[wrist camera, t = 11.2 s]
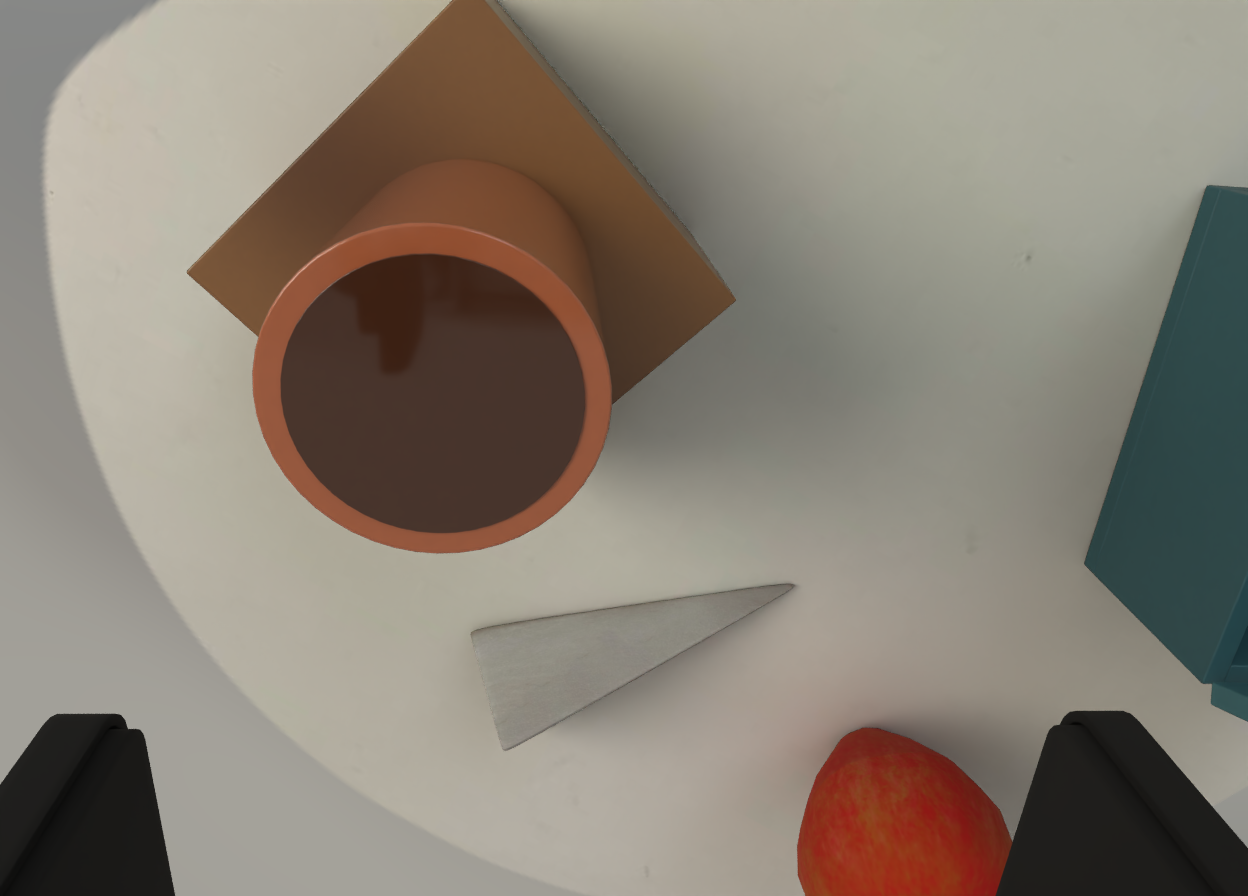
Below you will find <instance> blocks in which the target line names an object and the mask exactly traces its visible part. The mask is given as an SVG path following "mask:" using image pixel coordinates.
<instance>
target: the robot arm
mask: <svg viewBox="0 0 1248 896" xmlns="http://www.w3.org/2000/svg"><path fill="white" fill-rule="evenodd" d="M0 896H175V893H174V887H173V882H172V877H171V872H170V867H169V861H168V856H167V851H166V846H165V840H164V835H163V830H162V825H161V820H160V814H159V809H158V804H157V799H156V793H155V788H154V784H153V778H152V773H151V767H150V762H149V757H148V752H147V746H146V741H145V738H144V735H143V733H142V732H141V730H139V729H128V728H127V725H126V722H125V719H124V718H123V717H122V716H121V715H119V714H56V715H54V716H52V717H50V718H49V719H48V720H47V721H46V722H45V724H44V725H43V726H42V727H41V729H40V730H39V731H38V733H37V734H36V736H35V737H34V738H33V740H32V741H31V743H30V744H29V745H28V747H27V748H26V750H25V751H24V752H23V754H22V755H21V756H20V758H19V759H18V761H17V762H16V764H15V765H14V766H13V768H12V769H11V770H10V772H9V773H8V775H7V776H6V777H5V779H4V780H3V782H2V783H1V784H0ZM995 896H1248V848H1247V847H1246V846H1245V844H1244V843H1243V842H1242V841H1241V840H1240V839H1239V837H1238V836H1237V835H1236V834H1235V833H1234V832H1233V830H1232V829H1231V828H1230V827H1229V826H1228V825H1227V823H1226V822H1225V821H1224V820H1223V819H1222V818H1221V816H1220V815H1219V814H1218V813H1217V812H1216V811H1215V809H1214V808H1213V807H1212V806H1211V805H1210V804H1209V802H1208V801H1207V800H1206V799H1205V798H1204V797H1203V795H1202V794H1201V793H1200V792H1199V791H1198V790H1197V788H1196V787H1195V786H1194V785H1193V784H1192V783H1191V781H1190V780H1189V779H1188V778H1187V777H1186V776H1185V774H1184V773H1183V772H1182V771H1181V770H1180V769H1179V767H1178V766H1177V765H1176V764H1175V763H1174V762H1173V760H1172V759H1171V758H1170V757H1169V756H1168V755H1167V753H1166V752H1165V751H1164V750H1163V749H1162V748H1161V746H1160V745H1159V744H1158V743H1157V742H1156V741H1155V739H1154V738H1153V737H1152V736H1151V735H1150V734H1149V732H1148V731H1147V730H1146V729H1145V728H1144V727H1143V725H1142V724H1141V723H1140V722H1139V721H1138V720H1137V719H1136V718H1135V717H1134V716H1133V715H1131V714H1130V713H1127V712H1124V711H1073V712H1069V713H1068V714H1067V715H1066V716H1064V718H1063V720H1062V722H1061V724H1060V725H1055V726H1053V727H1052V728H1051V729H1050V730H1049V732H1048V734H1047V737H1046V740H1045V743H1044V746H1043V749H1042V752H1041V756H1040V759H1039V762H1038V765H1037V768H1036V771H1035V774H1034V777H1033V780H1032V784H1031V787H1030V790H1029V793H1028V796H1027V799H1026V802H1025V805H1024V808H1023V812H1022V815H1021V818H1020V821H1019V824H1018V827H1017V830H1016V833H1015V836H1014V839H1013V843H1012V846H1011V849H1010V852H1009V855H1008V858H1007V861H1006V864H1005V867H1004V871H1003V874H1002V877H1001V880H1000V883H999V886H998V889H997V892H996V895H995Z"/></svg>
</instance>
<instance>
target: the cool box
mask: <svg viewBox="0 0 1248 896" xmlns="http://www.w3.org/2000/svg"><path fill="white" fill-rule="evenodd" d="M1084 564H1085V566H1086V567H1087V568H1088V569H1089V570H1090V571H1091V572H1092V573H1094V575H1095V576H1096V577H1097V578H1098V579H1099V580H1100V581H1101V582H1102V583H1103V584H1104V585H1105V586H1106V587H1107V588H1108V589H1109V590H1110V591H1111V592H1112V593H1113V594H1114V595H1115V596H1116V597H1117V598H1118V599H1119V600H1120V601H1121V602H1122V603H1123V604H1124V605H1125V606H1126V607H1127V608H1128V609H1129V610H1130V611H1131V612H1132V613H1133V614H1134V615H1135V616H1136V617H1137V618H1138V619H1139V620H1140V621H1141V622H1142V623H1143V624H1144V625H1145V626H1146V627H1147V628H1148V629H1149V630H1150V631H1151V632H1152V633H1153V634H1154V635H1155V636H1156V637H1157V638H1158V639H1159V641H1160V642H1161V643H1162V644H1163V645H1164V646H1165V647H1166V648H1167V649H1168V650H1169V651H1170V652H1171V653H1172V654H1173V655H1174V656H1175V657H1176V658H1177V659H1178V660H1179V661H1180V662H1181V663H1182V664H1183V665H1184V666H1185V667H1186V668H1187V669H1188V670H1189V671H1190V672H1191V673H1192V674H1193V675H1194V676H1195V677H1196V678H1197V679H1198V680H1199V681H1200V682H1201V683H1203V684H1213V683H1214V682H1235V683H1248V188H1243V187H1228V186H1213V185H1209V186H1207V187H1206V190H1205V193H1204V196H1203V199H1202V202H1201V205H1200V208H1199V211H1198V215H1197V218H1196V221H1195V224H1194V227H1193V230H1192V233H1191V236H1190V239H1189V242H1188V245H1187V248H1186V251H1185V255H1184V258H1183V261H1182V264H1181V267H1180V270H1179V273H1178V276H1177V279H1176V282H1175V285H1174V288H1173V292H1172V295H1171V298H1170V301H1169V304H1168V307H1167V310H1166V313H1165V316H1164V319H1163V322H1162V325H1161V328H1160V332H1159V335H1158V338H1157V341H1156V344H1155V347H1154V350H1153V353H1152V356H1151V359H1150V362H1149V365H1148V368H1147V372H1146V375H1145V378H1144V381H1143V384H1142V387H1141V390H1140V393H1139V396H1138V399H1137V402H1136V405H1135V409H1134V412H1133V415H1132V418H1131V421H1130V424H1129V427H1128V430H1127V433H1126V436H1125V439H1124V442H1123V445H1122V449H1121V452H1120V455H1119V458H1118V461H1117V464H1116V467H1115V470H1114V473H1113V476H1112V479H1111V482H1110V485H1109V489H1108V492H1107V495H1106V498H1105V501H1104V504H1103V507H1102V510H1101V513H1100V516H1099V519H1098V522H1097V526H1096V529H1095V532H1094V535H1093V538H1092V541H1091V544H1090V547H1089V550H1088V553H1087V556H1086V559H1085V562H1084Z"/></svg>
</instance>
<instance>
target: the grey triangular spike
mask: <svg viewBox="0 0 1248 896" xmlns="http://www.w3.org/2000/svg"><path fill="white" fill-rule="evenodd" d="M793 587H794V586H793V585H792V584H782V585H774V586H766V587H758V588H751V589H743V590H736V591H729V592H722V593H715V594H708V595H700V596H693V597H686V598H679V599H672V600H665V601H658V602H651V603H644V604H637V605H631V606H624V607H617V608H610V609H603V610H596V611H589V612H582V613H576V614H569V615H562V616H555V617H549V618H542V619H535V620H529V621H522V622H516V623H510V624H504V625H498V626H492V627H487V628H483V629H479V630H475V631H473V632H471V638H472V642H473V646H474V649H475V653H476V657H477V660H478V664H479V667H480V671H481V675H482V678H483V682H484V686H485V689H486V693H487V696H488V700H489V704H490V707H491V711H492V715H493V718H494V722H495V725H496V729H497V733H498V736H499V740H500V743H501V746H502V749H503V750H504V751H507V750H509V749H512V748H514V747H516V746H518V745H520V744H522V743H523V742H525V741H527V740H529V739H531V738H533V737H534V736H536V735H538V734H540V733H542V732H543V731H545V730H547V729H549V728H550V727H552V726H554V725H556V724H558V723H559V722H561V721H563V720H565V719H566V718H568V717H570V716H572V715H573V714H575V713H577V712H579V711H580V710H582V709H584V708H586V707H587V706H589V705H591V704H593V703H595V702H596V701H598V700H600V699H602V698H603V697H605V696H607V695H609V694H610V693H612V692H614V691H616V690H617V689H619V688H621V687H623V686H624V685H626V684H628V683H630V682H631V681H633V680H635V679H637V678H638V677H640V676H642V675H644V674H645V673H647V672H649V671H651V670H652V669H654V668H656V667H658V666H659V665H661V664H663V663H665V662H666V661H668V660H670V659H672V658H673V657H675V656H677V655H679V654H680V653H682V652H684V651H686V650H687V649H689V648H691V647H692V646H694V645H696V644H698V643H699V642H701V641H703V640H705V639H706V638H708V637H710V636H712V635H713V634H715V633H717V632H719V631H720V630H722V629H724V628H726V627H727V626H729V625H731V624H733V623H734V622H736V621H738V620H740V619H741V618H743V617H745V616H746V615H748V614H750V613H752V612H753V611H755V610H757V609H759V608H760V607H762V606H764V605H765V604H767V603H769V602H771V601H772V600H774V599H776V598H777V597H779V596H781V595H783V594H784V593H786V592H787V591H789V590H790V589H792V588H793Z"/></svg>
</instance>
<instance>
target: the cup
mask: <svg viewBox="0 0 1248 896" xmlns="http://www.w3.org/2000/svg"><path fill="white" fill-rule="evenodd" d="M252 376H253V397H254V403H255V408H256V414H257V418H258V421H259V424H260V427H261V430H262V434H263V437H264V439H265V441H266V443H267V445H268V447H269V449H270V451H271V454H272V456H273V458H274V459H275V461H276V462H277V464H278V465H279V467H280V469H281V470H282V472H283V473H284V475H285V476H286V477H287V479H288V480H289V481H290V482H291V483H292V485H293V486H294V487H295V488H296V489H297V490H298V492H299V493H300V494H301V495H302V496H303V497H304V498H306V499H307V500H308V501H309V502H310V503H311V504H312V505H313V506H314V507H315V508H316V509H318V510H319V511H320V512H322V513H323V514H324V515H326V516H327V517H329V518H330V519H331V520H333V521H334V522H336V523H338V524H339V525H341V526H343V527H344V528H346V529H348V530H350V531H351V532H353V533H356V534H358V535H360V536H363V537H365V538H367V539H369V540H372V541H374V542H378V543H381V544H384V545H387V546H391V547H394V548H399V549H404V550H410V551H415V552H426V553H460V552H467V551H474V550H481V549H484V548H488V547H492V546H496V545H499V544H502V543H505V542H507V541H510V540H512V539H515V538H518V537H520V536H522V535H524V534H526V533H527V532H529V531H531V530H533V529H535V528H537V527H538V526H540V525H541V524H543V523H544V522H545V521H547V520H548V519H550V518H551V517H552V516H554V515H555V514H556V513H558V512H559V511H560V510H561V509H562V508H563V507H564V506H565V505H566V504H567V503H568V502H569V501H570V500H571V499H572V498H573V497H574V496H575V494H576V493H577V492H578V491H579V490H580V488H581V487H582V486H583V485H584V483H585V482H586V480H587V479H588V477H589V475H590V474H591V472H592V471H593V469H594V467H595V465H596V463H597V461H598V459H599V456H600V454H601V452H602V450H603V447H604V443H605V440H606V437H607V433H608V430H609V424H610V417H611V410H612V384H611V377H610V370H609V363H608V358H607V352H606V347H605V341H604V336H603V330H602V324H601V319H600V313H599V308H598V302H597V297H596V291H595V286H594V280H593V275H592V269H591V264H590V260H589V256H588V252H587V249H586V246H585V243H584V241H583V239H582V236H581V234H580V232H579V230H578V228H577V227H576V225H575V223H574V221H573V220H572V218H571V217H570V215H569V214H568V213H567V211H566V210H565V209H564V208H563V206H562V205H561V204H560V203H559V202H558V201H557V200H556V199H555V198H554V197H553V196H552V195H551V194H550V193H549V192H548V191H547V190H545V189H544V188H543V187H541V186H540V185H539V184H538V183H536V182H535V181H533V180H532V179H530V178H528V177H526V176H525V175H523V174H521V173H519V172H517V171H514V170H512V169H510V168H507V167H505V166H502V165H498V164H494V163H491V162H487V161H480V160H472V159H450V160H443V161H436V162H432V163H428V164H425V165H421V166H418V167H416V168H414V169H411V170H409V171H407V172H405V173H403V174H401V175H399V176H398V177H396V178H395V179H393V180H391V181H390V182H388V183H387V184H386V185H385V186H384V187H382V188H381V189H380V190H379V191H378V192H377V193H376V194H375V195H374V196H372V197H371V198H370V199H369V200H368V201H367V202H366V203H365V204H364V205H363V206H362V207H361V208H360V209H359V210H358V211H357V212H356V213H355V214H354V215H353V216H352V217H351V218H350V219H349V220H348V221H347V222H346V223H345V224H344V225H343V226H342V227H341V228H340V229H339V230H338V231H337V232H336V233H335V234H334V235H333V236H332V237H331V238H330V239H329V240H328V241H327V242H326V243H325V244H324V245H323V246H322V247H321V248H320V249H319V250H318V251H317V252H316V253H315V254H314V255H313V256H312V257H311V258H310V259H309V260H308V261H307V262H306V263H305V264H304V265H303V266H302V267H301V268H300V269H299V270H298V271H297V273H296V274H295V275H294V276H293V277H292V278H291V279H290V280H289V282H288V283H287V284H286V285H285V286H284V287H283V288H282V290H281V292H280V293H279V295H278V296H277V298H276V299H275V301H274V302H273V304H272V306H271V307H270V309H269V311H268V314H267V316H266V318H265V320H264V323H263V325H262V327H261V330H260V333H259V337H258V341H257V344H256V348H255V354H254V362H253V371H252Z"/></svg>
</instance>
